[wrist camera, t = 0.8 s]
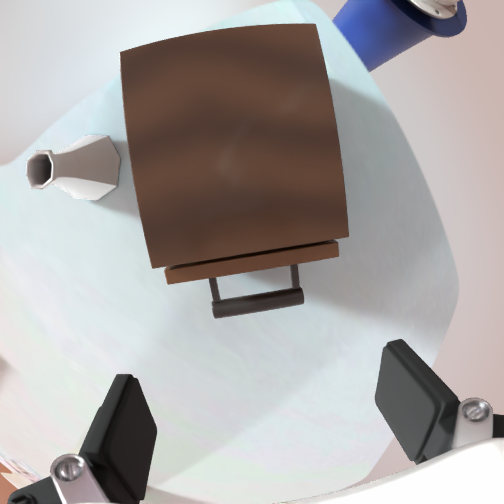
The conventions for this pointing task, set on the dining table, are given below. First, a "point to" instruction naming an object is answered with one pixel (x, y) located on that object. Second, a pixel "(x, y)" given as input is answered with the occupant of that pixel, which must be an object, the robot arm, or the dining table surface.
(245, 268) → the drawer
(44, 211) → the dining table surface
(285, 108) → the cabinet
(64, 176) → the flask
